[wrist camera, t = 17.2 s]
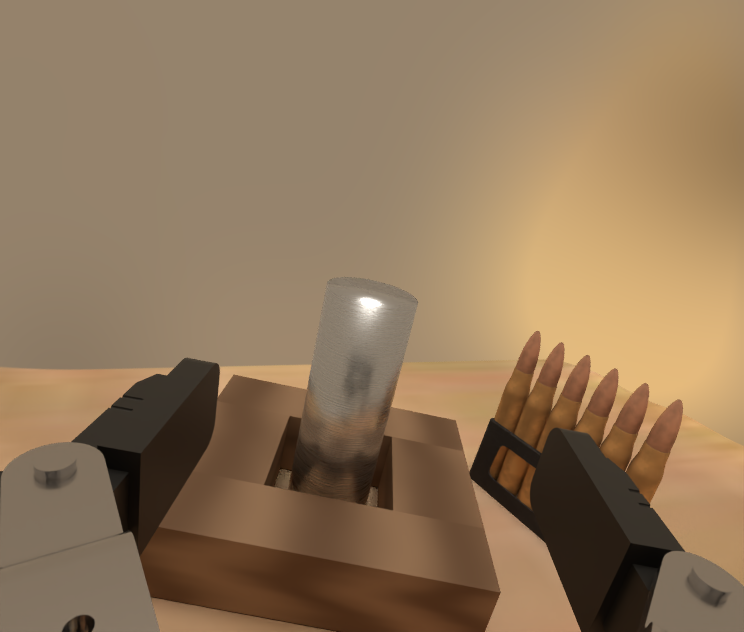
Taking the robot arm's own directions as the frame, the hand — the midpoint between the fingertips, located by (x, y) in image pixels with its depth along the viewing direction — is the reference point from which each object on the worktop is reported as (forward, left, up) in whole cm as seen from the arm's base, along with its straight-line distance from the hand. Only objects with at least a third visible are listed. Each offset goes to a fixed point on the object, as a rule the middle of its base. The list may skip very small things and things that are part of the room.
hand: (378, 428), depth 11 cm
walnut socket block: (0, -13, -14) cm, 19 cm away
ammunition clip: (-14, -16, -15) cm, 25 cm away
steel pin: (0, -13, -14) cm, 19 cm away
